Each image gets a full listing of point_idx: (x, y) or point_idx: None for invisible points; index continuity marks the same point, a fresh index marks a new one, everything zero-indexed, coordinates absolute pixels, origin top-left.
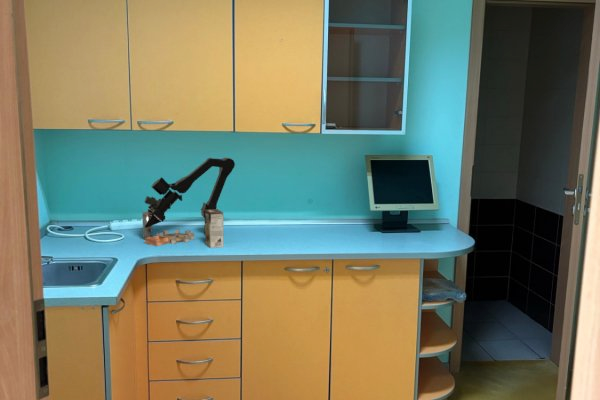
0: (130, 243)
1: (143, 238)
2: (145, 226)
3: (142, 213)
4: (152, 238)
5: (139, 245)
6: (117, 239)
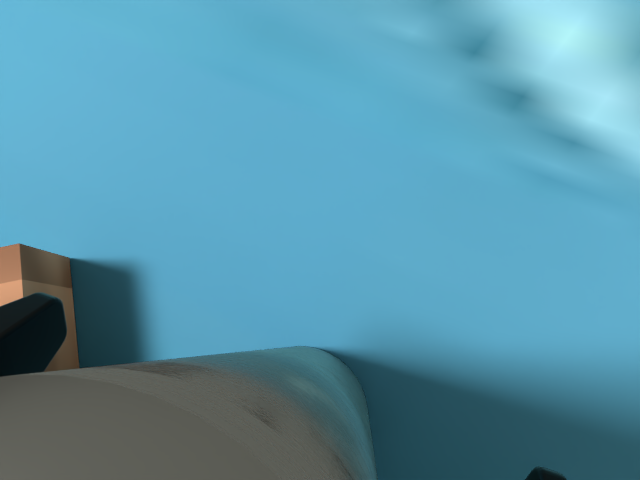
0: (201, 99)
1: (305, 346)
2: (24, 308)
3: (146, 378)
4: None
5: (18, 148)
6: (551, 47)
